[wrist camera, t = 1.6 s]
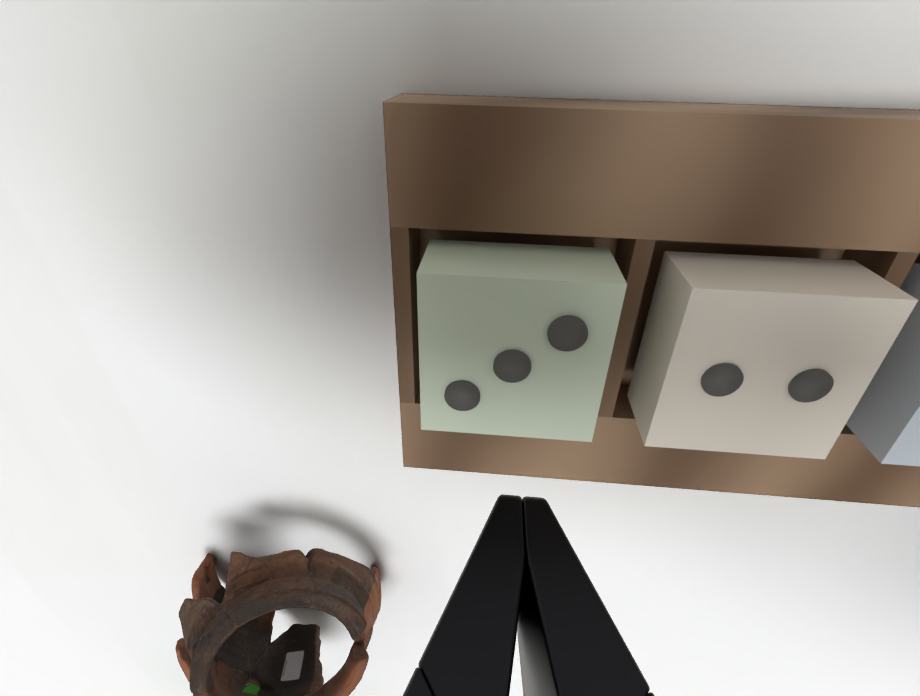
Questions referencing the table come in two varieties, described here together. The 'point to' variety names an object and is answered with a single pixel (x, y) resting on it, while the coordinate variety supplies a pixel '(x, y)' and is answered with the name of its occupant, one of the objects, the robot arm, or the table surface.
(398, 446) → the table surface
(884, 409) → the tile one
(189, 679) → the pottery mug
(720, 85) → the table surface
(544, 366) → the tile three
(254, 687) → the bell pepper
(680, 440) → the tile two
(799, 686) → the table surface
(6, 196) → the table surface
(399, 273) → the tile board
